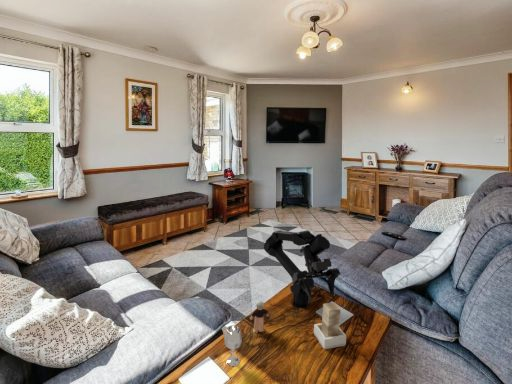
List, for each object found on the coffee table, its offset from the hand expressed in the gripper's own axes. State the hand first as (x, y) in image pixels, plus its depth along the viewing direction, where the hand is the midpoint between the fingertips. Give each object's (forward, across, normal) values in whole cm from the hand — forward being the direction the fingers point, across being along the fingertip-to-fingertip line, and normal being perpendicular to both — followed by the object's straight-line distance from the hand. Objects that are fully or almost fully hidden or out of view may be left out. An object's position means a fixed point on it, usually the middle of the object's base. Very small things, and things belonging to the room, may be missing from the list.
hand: (322, 297), depth 112 cm
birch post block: (+14, 0, +4) cm, 14 cm away
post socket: (+14, 0, +4) cm, 15 cm away
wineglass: (+16, -37, +3) cm, 40 cm away
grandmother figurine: (+7, -24, +12) cm, 28 cm away
